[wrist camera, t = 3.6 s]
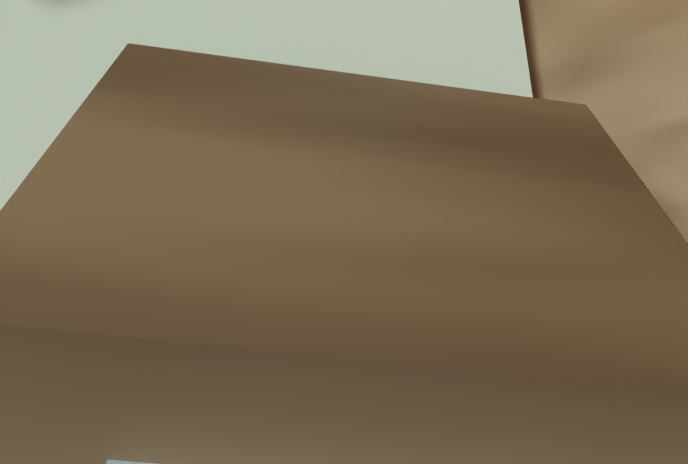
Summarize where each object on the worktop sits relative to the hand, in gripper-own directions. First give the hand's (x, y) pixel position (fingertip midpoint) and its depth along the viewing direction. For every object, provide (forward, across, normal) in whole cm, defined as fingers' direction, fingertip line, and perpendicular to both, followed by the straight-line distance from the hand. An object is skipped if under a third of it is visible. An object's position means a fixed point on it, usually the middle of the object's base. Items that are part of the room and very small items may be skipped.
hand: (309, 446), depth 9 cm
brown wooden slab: (+1, 0, 0) cm, 1 cm away
